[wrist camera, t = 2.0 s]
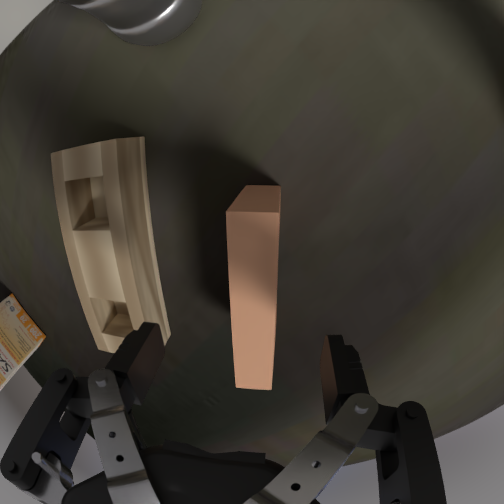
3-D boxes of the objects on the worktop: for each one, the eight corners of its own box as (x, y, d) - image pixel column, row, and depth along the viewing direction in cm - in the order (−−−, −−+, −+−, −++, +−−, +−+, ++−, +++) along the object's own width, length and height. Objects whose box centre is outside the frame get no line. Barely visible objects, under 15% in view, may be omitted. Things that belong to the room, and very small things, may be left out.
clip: (280, 185, 19) (278, 212, 12) (275, 326, 24) (271, 389, 17) (245, 185, 19) (225, 211, 13) (248, 324, 24) (236, 387, 17)
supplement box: (47, 335, 30) (-5, 395, 18) (40, 345, 31) (-6, 400, 19) (12, 290, 28) (-46, 342, 16) (7, 304, 29) (-44, 352, 17)
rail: (144, 136, 18) (116, 138, 15) (170, 334, 26) (156, 361, 22) (82, 147, 19) (50, 153, 15) (116, 325, 26) (98, 349, 23)
